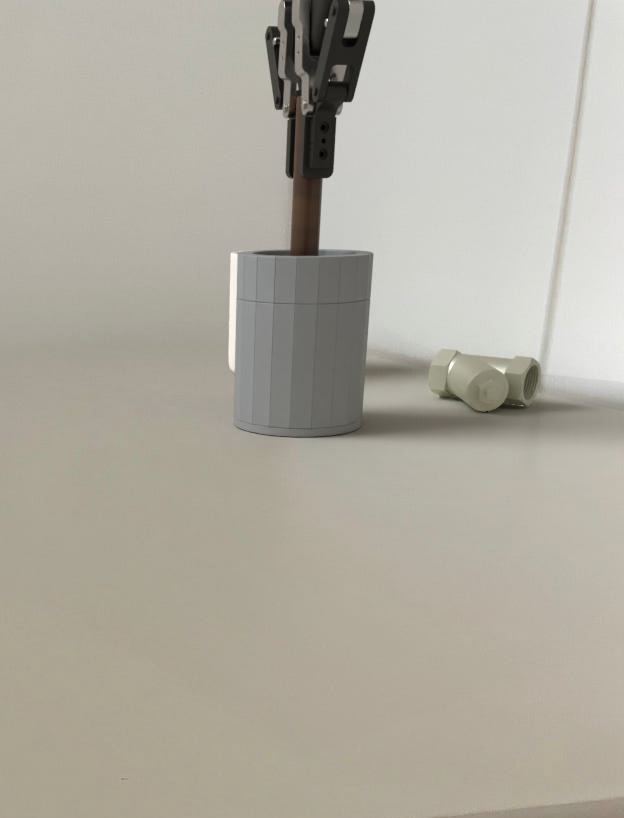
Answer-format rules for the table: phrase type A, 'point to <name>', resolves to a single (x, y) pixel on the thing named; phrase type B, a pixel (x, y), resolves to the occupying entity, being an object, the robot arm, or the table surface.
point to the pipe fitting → (484, 379)
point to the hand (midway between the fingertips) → (308, 177)
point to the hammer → (304, 203)
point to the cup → (301, 341)
